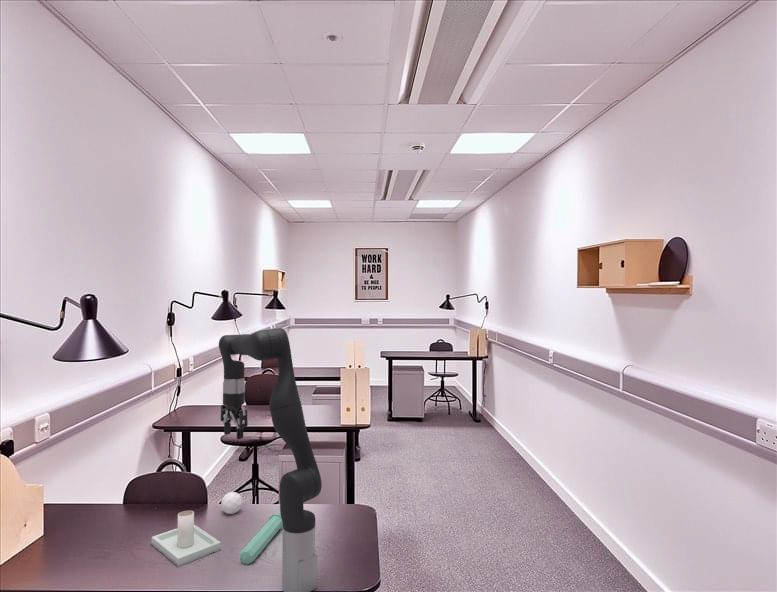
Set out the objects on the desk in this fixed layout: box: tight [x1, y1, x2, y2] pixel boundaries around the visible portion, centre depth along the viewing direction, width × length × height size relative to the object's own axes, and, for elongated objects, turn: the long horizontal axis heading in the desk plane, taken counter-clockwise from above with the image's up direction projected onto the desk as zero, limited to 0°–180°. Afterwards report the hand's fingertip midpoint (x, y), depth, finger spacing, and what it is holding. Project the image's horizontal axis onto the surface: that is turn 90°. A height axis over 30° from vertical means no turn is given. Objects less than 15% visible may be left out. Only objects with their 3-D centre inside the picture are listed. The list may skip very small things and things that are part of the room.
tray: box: [151, 524, 222, 568], centre depth 162 cm, size 20×14×2 cm
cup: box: [177, 510, 195, 548], centre depth 163 cm, size 5×5×10 cm
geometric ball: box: [220, 491, 243, 515], centre depth 189 cm, size 8×8×8 cm
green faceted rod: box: [239, 513, 283, 565], centre depth 164 cm, size 6×6×25 cm
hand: (233, 436), depth 175 cm, fingers open, 8 cm apart
